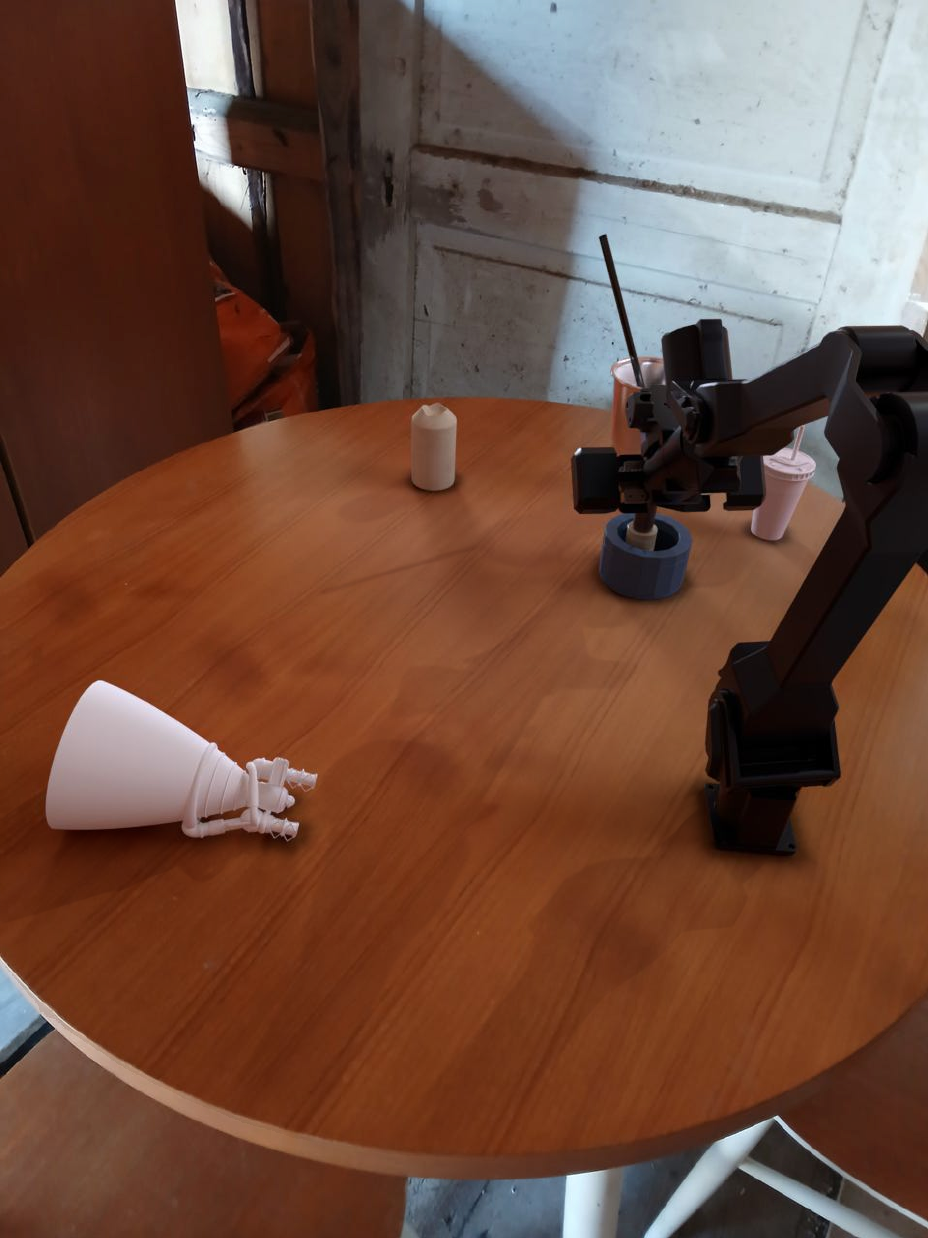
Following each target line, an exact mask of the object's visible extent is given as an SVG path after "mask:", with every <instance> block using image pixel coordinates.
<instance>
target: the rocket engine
mask: <svg viewBox="0 0 928 1238" xmlns="http://www.w3.org/2000/svg"><path fill="white" fill-rule="evenodd" d="M289 765H290V761H289V760H288V759H286V758H283V757H279V756H277V757H275V758H274V759H273V760H272V761H271V760H268V759H266V758H265V757H262V758H260V757H259V758H255V759H254V760H252V761H248V762H247V763H246V765H245V767H246V770H244V769H242V768H241V767H240V766H239V765H238V762H236V761H233V760H232V759H231V758H230V757H229V756H227V755H226V752H222V751H221V750H219V748H218V744H217V743H216V742H214V741H213V742H209V741H208V740H206V739H205V738H203V737H202V736H201V735H199V734H198V733H196V732H194V731H193V730H192V729H190V728H189V727H188V726H186V725H185V724H183V723H181V722H180V721H178V720H177V719H175V718H173V716H170V715H169V714H167V713H165V712H164V711H162V710H160V709H159V708H157V707H155V706H154V705H152V704H151V703H149V702H147V701H146V700H143V699H141V698H140V697H138V696H136V695H134V694H132V693H130V692H128V691H127V690H124V689H122V688H120V687H119V686H116V685H114V684H112V683H109V682H107V681H105V680H101V679H100V680H96V681H93V682H92V683H91V684H90V685H89V686H88V687H87V689H85V691H84V692H83V694H82V695H81V696H80V698H79V700H78V701H77V703H76V704H75V706H74V707H73V710H72V712H71V714H70V716H69V718H68V720H67V722H66V724H65V727H64V730H63V732H62V734H61V737H60V740H59V742H58V746H57V748H56V751H55V754H54V758H53V762H52V765H51V769H50V773H49V778H48V782H47V788H46V795H45V818H46V821H47V824H48V826H49V827H50V828H51V829H52V830H65V831H66V830H67V831H68V830H69V831H74V830H75V831H83V830H84V831H88V830H92V831H93V830H112V829H113V830H115V829H125V828H137V827H147V826H154V825H163V824H169V823H176V822H181V830H182V832H183V834H184V835H186V836H188V837H191V838H195V839H196V838H201V839H203V838H204V837H208V836H218V835H223V834H225V833H226V832H229V831H234V830H240V829H243V830H244V831H245V832H247V833H255V832H258V833H259V834H261V835H263V834H271V836H272V838H274V839H276V838H277V837H279V836H280V837H284V839H285V840H286V842H289V841H291V840H292V839H295V838H296V837H297V834H298V830H299V826H300V823H299V821H298V822H295V821H290V820H288V817H285V819H281V818H278V817H275V816H274V815H273V814H272V812H273V813H276V814H279V813H282V812H283V811H284V810H285V809H286V808H287V809H289V808H290V807H292V806H293V805H295V802H296V800H295V797H294V796H292V795H289V790H288V789H287V788H286V786H284V785H285V781H286V782H287V784H289V786H290V787H291V789H292V790H293V789H295V788H296V787H297V786H298V788H300V787H301V789H302V790H303V791H304V793H306V792H308V791H310V790H313V789H315V787H316V782H317V779H318V773H314V774H313V773H310V772H307V771H305V769H304V768H302V770H298V769H295V768H294V767H291V768H289ZM247 771H248V772H247ZM260 779H261V780H267V782H263V781H259V780H260ZM291 782H292V783H295V784H296V785H295V786H292V784H291ZM303 785H305V786H309V787H310V788H309V789H307V790H305V788H304V786H303ZM242 808H247V809H245V810H243V811H242V813H241V814H240V817H235V818H230V819H229V818H228V819H224V818H219V819H214V820H210V821H207V822H201V821H202V818H205V819H207V818H208V817H209V816H215V815H223V814H224V813H226V812H230V811H233V812H235V811H236V810H239V809H242ZM262 810H263V811H262ZM273 832H274V833H279V834H278V835H276V836H274V834H273ZM286 835H288V836H291V837H290V838H289V839H287V837H286Z"/></svg>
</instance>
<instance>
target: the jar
mask: <svg viewBox="0 0 928 1238" xmlns="http://www.w3.org/2000/svg"><path fill="white" fill-rule="evenodd" d="M634 514H635V513H633V514H624V513H621V512H620V513H619V514H618V515H615V516H613V517H612V518H610V519H609V520H608V522H607V523H606V525H605V526H604V531H603V538H602V545H601V550H600V558H599V568H598V573H599V577H600V579H601V581H602V582H603V584H604V585H606V586H607V587H608V588H609V589H610V590H612V591H613V592H615V593H617V594H619V595H621V596H625V597H628V598H631V599H635V600H642V601H643V600H644V601H654V600H662V599H666V598H668V597H671V596H673V595H675V594H676V593H677V592H679V590H680V589H681V587H682V586H683V583H684V582H683V581H684V580H685V576H686V572H687V567H688V562H689V557H690V554H691V549H692V545H693V538H692V533H691V532H690V530H689V529H688V528H687V527H686V526H685V525H684V524H683V523H682V522H681V521H678V520H676V519H675V518H673V517H671V516H669V515H666V514H662V513H657V512H656V516H655V521H654V525H655V526H656V527H657V529H658V531H657V536H656V541H655V546H654V551H645V550H642V549H638V548H635V547H632V546H630V545H629V544H627V543H625V539H626V533H627V527H628V524H629V523H630V522H632V521H633V520H634Z"/></svg>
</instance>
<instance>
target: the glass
mask: <svg viewBox="0 0 928 1238" xmlns="http://www.w3.org/2000/svg"><path fill="white" fill-rule="evenodd" d="M598 241H599V244H600V247H601V252H602V256H603V259H604V263H605V267H606V270H607V271H606V272H607V274H608V279H609V283H610V286H611V291H612V294H613V298H614V303H615V306H616V310H617V313H618V317H619V321H620V325H621V329H622V334H623V336H624V340H625V341H624V342H625V344H626V348H627V352H628V356H629V357H625V358H621V359H619V360H617V361H615V362H614V363H612V365H611V366H610V370H609V372H610V375H611V377H612V379H613V380H612V402H611V405H612V406H611V424H610V425H611V426H610V428H611V429H610V440H611V441H610V442H611V443H610V445H611V446H610V447H614V448H615V450H616V452H617V457H618V456H619V455H626V454H641V444H642V443H643V442H644V440H645V439H646V437H645V433H640V430H639V429H636V428H629V427H628V423H627V418H626V413H625V405H626V402H627V399H628V397H629V396H630V395H631V394H632V393H634V392H639V391H640V389H641V388H650V387H651V386H653V385H665V375H664V365H663V357H658V356H657V357H656V356H638V354H637V348H636V346H635V341H634V337H633V333H632V329H631V325H630V322H629V318H628V313H627V309H626V306H625V302H624V298H623V294H622V289H621V285H620V282H619V278H618V274H617V270H616V266H615V261H614V258H613V254H612V251H611V247H610V243H609V239H608V235H607V233H606V234H605V233H604V234H601V235H599V236H598Z"/></svg>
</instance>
